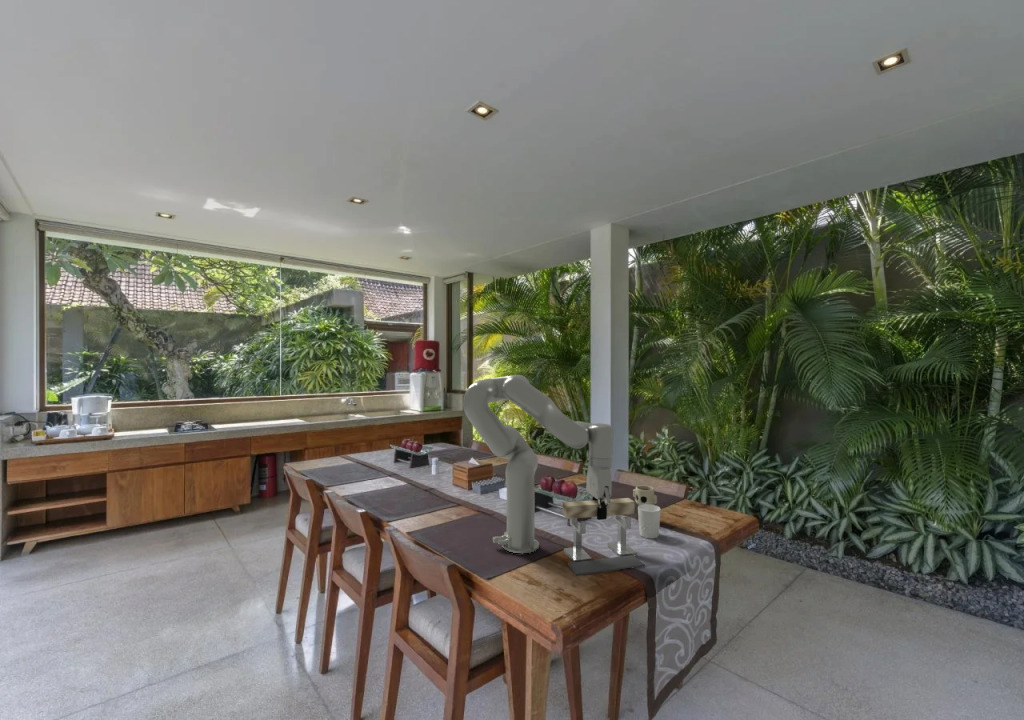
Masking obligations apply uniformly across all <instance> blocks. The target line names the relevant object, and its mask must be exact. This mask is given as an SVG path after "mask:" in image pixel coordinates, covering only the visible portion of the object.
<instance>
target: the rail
mask: <svg viewBox="0 0 1024 720" xmlns="http://www.w3.org/2000/svg"><path fill="white" fill-rule="evenodd" d="M602 501H604V500H601V503H602ZM610 501H611V502H610V503H609V504H608V507H607V517H608V516H614V515H621V516H622V515H624V516H625V515H634V514H635V509H636V508H635V506H636V501H635V500H633V499H631V498H630V497H624V498H623V497H621V498H610ZM597 507H598V500H591V499H590V500H578V501H565V502H564V501H563V502H562V511H561V513H562V514H561V515H562V516H563V517H564V518H565V519H567V520H570V519H572V518H577V519H584V518H585V519H586V518H597Z"/></svg>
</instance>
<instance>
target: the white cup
mask: <svg viewBox="0 0 1024 720" xmlns="http://www.w3.org/2000/svg"><path fill="white" fill-rule="evenodd" d="M637 509H638V520H637V521H638V528H639V529H638V534H639V536H641V537H642V538H646V539H656V538H658V537H659V535H660V523H661V507H660V506H658V505H655V504H653V505H651V504H642V505H639V506H638V505H637Z"/></svg>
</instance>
